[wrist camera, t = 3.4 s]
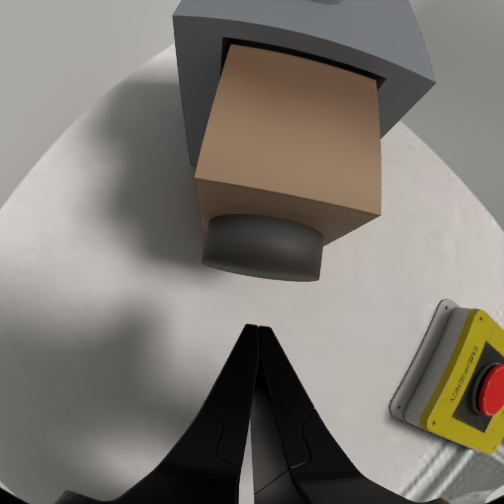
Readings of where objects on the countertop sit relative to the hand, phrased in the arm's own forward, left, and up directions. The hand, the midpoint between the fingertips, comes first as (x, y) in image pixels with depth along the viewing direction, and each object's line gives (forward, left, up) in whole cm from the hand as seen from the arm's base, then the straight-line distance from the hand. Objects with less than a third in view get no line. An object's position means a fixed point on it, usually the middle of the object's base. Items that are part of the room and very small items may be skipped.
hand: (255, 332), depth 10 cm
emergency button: (+1, -20, -8) cm, 21 cm away
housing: (+12, +3, -7) cm, 14 cm away
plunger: (+5, +1, -7) cm, 9 cm away
